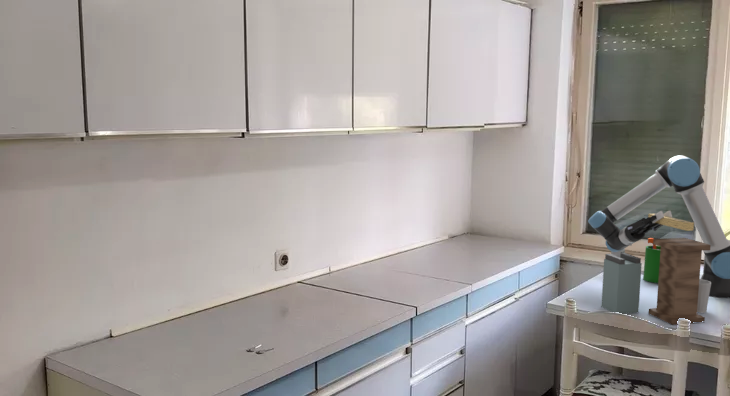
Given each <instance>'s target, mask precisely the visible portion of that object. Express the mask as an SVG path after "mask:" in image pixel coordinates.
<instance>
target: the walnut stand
mask: <svg viewBox="0 0 730 396" xmlns="http://www.w3.org/2000/svg"><path fill="white" fill-rule="evenodd" d="M653 244H654V245H656V246H661V250H660V265H659V279H658V283H657V295H656V297H657V298H656V307H655V308H654V307H653V308H648V313H649V315H650V314H651V315H650V316H652V317H654V318H657V319H659V320H661V321H664V322H666V323H668V324H670V325H672V326H676V325H677V321H678V319H679V318H685V319H688V320H690V321H691V324H694V323H693V322H702V321H705V320H706V317H705V316H703V315H701V314H699V313H697V305H698V292H699V279H701V277H700V275H701V265H702V264H701V263H702V252H703V250H710V247H711V245H709V244H706V243H703V241H698V240H695V239H691V238H688V237H670V238H669V237H668V238H653ZM653 244H652V245H653ZM705 322H706V321H705Z"/></svg>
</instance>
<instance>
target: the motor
mask: <svg viewBox="0 0 730 396" xmlns="http://www.w3.org/2000/svg"><path fill="white" fill-rule="evenodd" d="M653 239H654V238H653V237H649V238H648V237H647V243H648V244H652V245H646V246H645V251H644V264H643V278H642V279H643V280H644V281H645V282H647V283H653V284H658V279H659V265H660V250H661V246H657V245H654V244H653Z"/></svg>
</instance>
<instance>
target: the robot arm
mask: <svg viewBox="0 0 730 396" xmlns="http://www.w3.org/2000/svg"><path fill="white" fill-rule="evenodd" d="M704 184H705V180H704V178H703V175H702V174H701V169H700V166H699V164H698V162H696V161H695V160H694V159H692V158H690V157H689V156H686V155H683V154H681V155H674V156H673V157H671V158H669V160H667V161H666V162H665V163H664V164H662V165H660V167H658V168H657V169H655V172H654V173H653V174H652V175H651V176H649V177H648V178H647V179H645V180H643V181H642V182H641V183H639V184H638V185H637V186H635V187H634V188H632V189H631V190H629V191H628V192H626V193H625V194H623V195H622V196H621V197H619V198H618V199H616V200H615V201H613V202H612V203H610V204H609V205H608V206H606V207H605V208H603V209H602V210H598V211H596V212H595V213H593V215H591V216H590V217H589V219H588V220H587V222H588V224H589V225H590V226H591V227H592V228H593V229H594V230H595V231H596V232H597V233H598V234H599V235H601V237H602V238H603V239H604V240H605V246H606V248H607V250H609V251H610V252H611V251H612V252H618V251H620V250H623V249H624V248H625V249H626V248H628V247H632V246H633V244H635V243H637V242H639V241H641V240H642V239H644V238H645V235H646V234H647V233H648V232H651V231H654V232H656V231H658V229H660V228H661V227H663V226H664V225H662V224H658V223H655V222H657V221H658V220H660V219H662V218H664V216H668V217H672V218H673V214H672V211H671V210H667V211H666V212H663V210H659V211H658V212H657V213H656V212H655V213H654V214H655V215H653V216H651V217H648V216H647V217H643V218H640V219H639V220H637V221H636V222H631V223H630V224H628V225H627V226H625V227H623V228H622V229H620V228H619V227H618V226H617V225H616V224H615V223H616V221H618V220H620V219H621V218H622V217H625V215H627V214H628V213H630V212H631V211H633V210H635V209H636V208H638V207H639V206H641V205H642V204H643V203H645V202H646V201H648V200H650V198H652V197H654V196H655V195H657V194H658V193H660V192H661V191H663V190H664V189H665V188H669V189H670V188H672V187H673V189H674V191H675V193H676V194H678V195H681V198H682V199H683V202H684V204H685V206H686V208H687V210H688V212H689V215H690V217H691V219H692V220H693V221H692V222H694V227H695V228H696V229H697V232H698V233H699V237H700V238H701V240H702V241H701V242H702V243H706V244H709V245H711V247H710V250H703V251H702V252H703V253H704V258H703V271H702V275H701V277H700V279H703V280H707V281H710V282H711V287H710V293H709V296H712V297H719V298H730V239H727V236H726V235H725V232H724V230H723V228H722V226H721V223H720V222H719V220H718V218H717V216H716V213H715V211H714V209H713V207H712V204H711V203H710V201H709V199H708V196H707V194H706V192H705V190H704Z"/></svg>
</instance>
